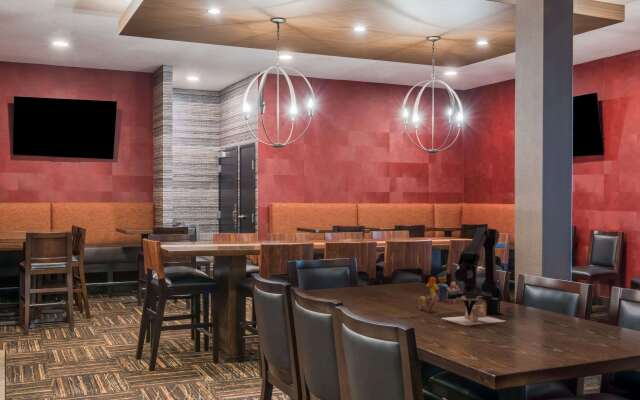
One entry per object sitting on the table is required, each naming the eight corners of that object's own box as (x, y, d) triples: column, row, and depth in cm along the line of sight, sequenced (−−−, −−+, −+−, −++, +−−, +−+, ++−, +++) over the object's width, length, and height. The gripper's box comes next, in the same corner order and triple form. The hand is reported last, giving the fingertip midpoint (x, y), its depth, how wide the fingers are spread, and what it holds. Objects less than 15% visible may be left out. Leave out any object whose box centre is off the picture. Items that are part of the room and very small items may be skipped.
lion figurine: (440, 312, 324) (440, 293, 323) (432, 313, 320) (432, 294, 320) (418, 308, 336) (419, 289, 335) (410, 309, 332) (410, 290, 332)
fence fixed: (483, 316, 313) (483, 302, 313) (486, 317, 311) (486, 303, 311) (467, 318, 309) (467, 303, 309) (470, 318, 307) (470, 304, 307)
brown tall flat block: (464, 317, 308) (464, 304, 308) (468, 317, 309) (468, 304, 309) (473, 322, 296) (473, 309, 296) (477, 322, 296) (478, 309, 296)
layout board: (481, 315, 316) (481, 314, 316) (505, 321, 301) (505, 320, 301) (440, 318, 307) (440, 318, 307) (464, 325, 291) (464, 324, 291)
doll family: (461, 303, 351) (461, 277, 351) (447, 305, 345) (447, 279, 345) (432, 298, 368) (432, 273, 368) (418, 300, 363) (418, 275, 363)
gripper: (449, 281, 290) (448, 318, 290) (494, 282, 288) (493, 319, 288) (447, 277, 301) (446, 313, 302) (491, 279, 299) (490, 315, 299)
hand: (469, 315), depth 297 cm, fingers closed
